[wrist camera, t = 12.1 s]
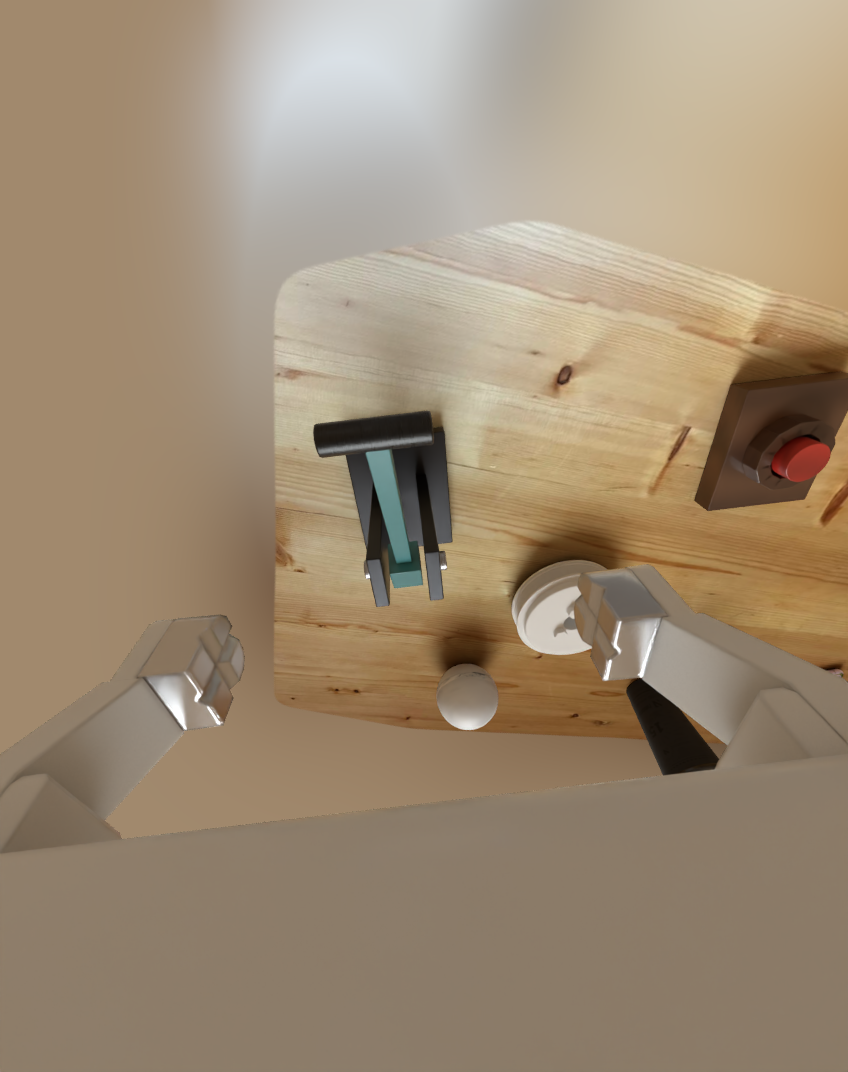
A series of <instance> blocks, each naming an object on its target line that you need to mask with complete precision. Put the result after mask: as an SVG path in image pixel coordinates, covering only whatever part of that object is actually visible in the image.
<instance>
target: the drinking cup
mask: <svg viewBox="0 0 848 1072" xmlns="http://www.w3.org/2000/svg"><path fill="white" fill-rule="evenodd" d="M627 695H628V697H629V699H630V702H631V704H632V706H633V708H634V711H635V713H636V715H637V718H638V720H639V722H640V724H641V727H642V729H643V731H644V733H645V736H646V738H647V740H648V742H649V745H650V747H651V749H652V751H653V754H654V756H655V758H656V760H657V763H658V765H659V767H660V769H661V772H662V774H663V775H672V774H680V773H688V772H697V771H705V770H714V769H715V767H716V765H717V762H718V760H719V759H718V757H717V756H716V755H715V753H714V752H713V751H712V750H711V748H710V747H709V746H708V744H707V743H706V742H705V741H704V739H703V738H702V737H701V736H700V734H699V733H698V732H697V730H696V729H695V728H694V727H693V725H692V724H691V723H690V722H689V720H688V719H687V718H686V716H685V715H684V714H683V713H682V711H681V710H680V709H679V707H677V706H676V705H675V704H673V703H672V702H671V701H670V700H668V699H667V698H666V697H664V696H663V695H662V694H661V693H659V692H658V691H657V690H655V689H654V688H653V687H651V686H650V685H649V684H648V683H646V682H645V681H644V680H642V679H639V680H637V681H635V682H633V683H632V684H631V685H630V686H629V687H628V688H627Z"/></svg>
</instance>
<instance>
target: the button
mask: <svg viewBox="0 0 848 1072" xmlns="http://www.w3.org/2000/svg"><path fill="white" fill-rule="evenodd" d="M830 454H831V451H830V448H829V447H828V446H827V445H826V444H823V443H821V442H818V441H816V440H813V439H811V438H808V437H797V438H794V439H792V440H790V441H788V442H787V443H785V444H784V445H783V446H782V447H781V448H780V449H779V450H778V451H777V452H776V453H775V455H774V458H773V460H772V462H771V467H772V469H773V471H774V472H776V473H777V474H779V475H781V476H783V477H785V478H787V479H789V480H791V481H794V482H800V481H805V480H807V479H810V478H812V477H813V476H815V475H816V474H818V473H819V472H820V471H821V470H822V469H823V468H824V467H825V466H826V464H827V463H828V461H829V458H830Z"/></svg>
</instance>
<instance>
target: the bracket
mask: <svg viewBox="0 0 848 1072" xmlns="http://www.w3.org/2000/svg"><path fill="white" fill-rule="evenodd" d="M433 436H434V443H433V444H432V445H425V446H416V447H408V448H399V449H391V450H392V455H393V460H394V465H395V470H396V476H397V481H398V486H399V491H400V496H401V502H402V507H403V512H404V517H405V522H406V528H407V533H408V538H409V542H410V541H418V546H424V553H425V561H426V570H427V578H428V586H429V594H430V600H440V599H443V598H444V596H443V586H442V576H441V570H447V562H446V555H445V551H439V547H438V544H442V543H450V542H452V529H451V516H450V502H449V488H448V474H447V460H446V446H445V433H444V429H443V427H437V428H433ZM346 458H347V463H348V467H349V472H350V476H351V481H352V486H353V490H354V495H355V499H356V504H357V508H358V513H359V517H360V522H361V526H362V531H363V536H364V540H365V545H366V549H367V554H366V560H365V561H364V572H365V577H366V579H370V581H371V585H372V590H373V594H374V598H375V603H376V606H377V607H380V606H389V605H390V573H389V559H388V544H391V542H390V539H389V535H388V531H387V528H386V524H385V521H384V517H383V514H382V510H381V507H380V503H379V500H378V496H377V493H376V489H375V485H374V482H373V478H372V475H371V471H370V468H369V464H368V461H367V457H366V454H365V453H358V454H349V455H346Z"/></svg>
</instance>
